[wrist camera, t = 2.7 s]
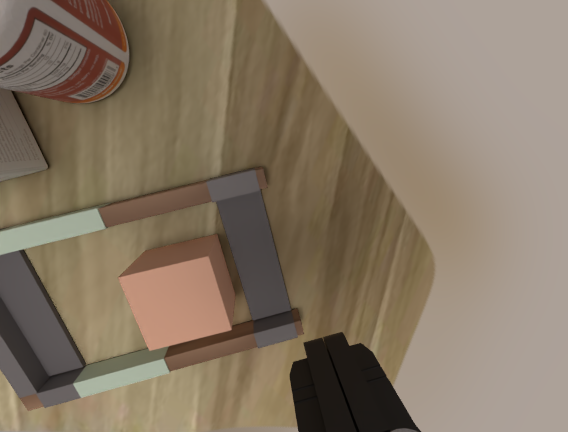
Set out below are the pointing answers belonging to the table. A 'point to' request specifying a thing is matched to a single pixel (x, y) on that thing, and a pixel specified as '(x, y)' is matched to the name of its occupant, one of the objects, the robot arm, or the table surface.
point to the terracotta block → (180, 292)
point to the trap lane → (144, 364)
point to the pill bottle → (62, 49)
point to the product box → (16, 141)
